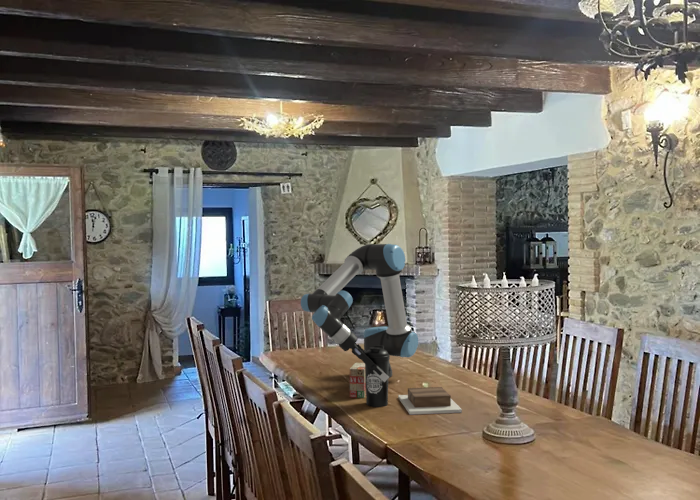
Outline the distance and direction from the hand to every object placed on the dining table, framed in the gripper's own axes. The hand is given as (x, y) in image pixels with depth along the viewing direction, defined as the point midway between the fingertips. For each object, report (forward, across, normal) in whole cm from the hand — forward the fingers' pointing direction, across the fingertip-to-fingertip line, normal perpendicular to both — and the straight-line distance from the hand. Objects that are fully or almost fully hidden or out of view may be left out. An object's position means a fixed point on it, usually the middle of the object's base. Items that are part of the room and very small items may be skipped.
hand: (384, 376), depth 252 cm
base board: (+20, +4, +4) cm, 20 cm away
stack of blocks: (+3, -21, -13) cm, 25 cm away
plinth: (+19, +4, +5) cm, 20 cm away
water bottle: (+6, 0, -10) cm, 11 cm away
